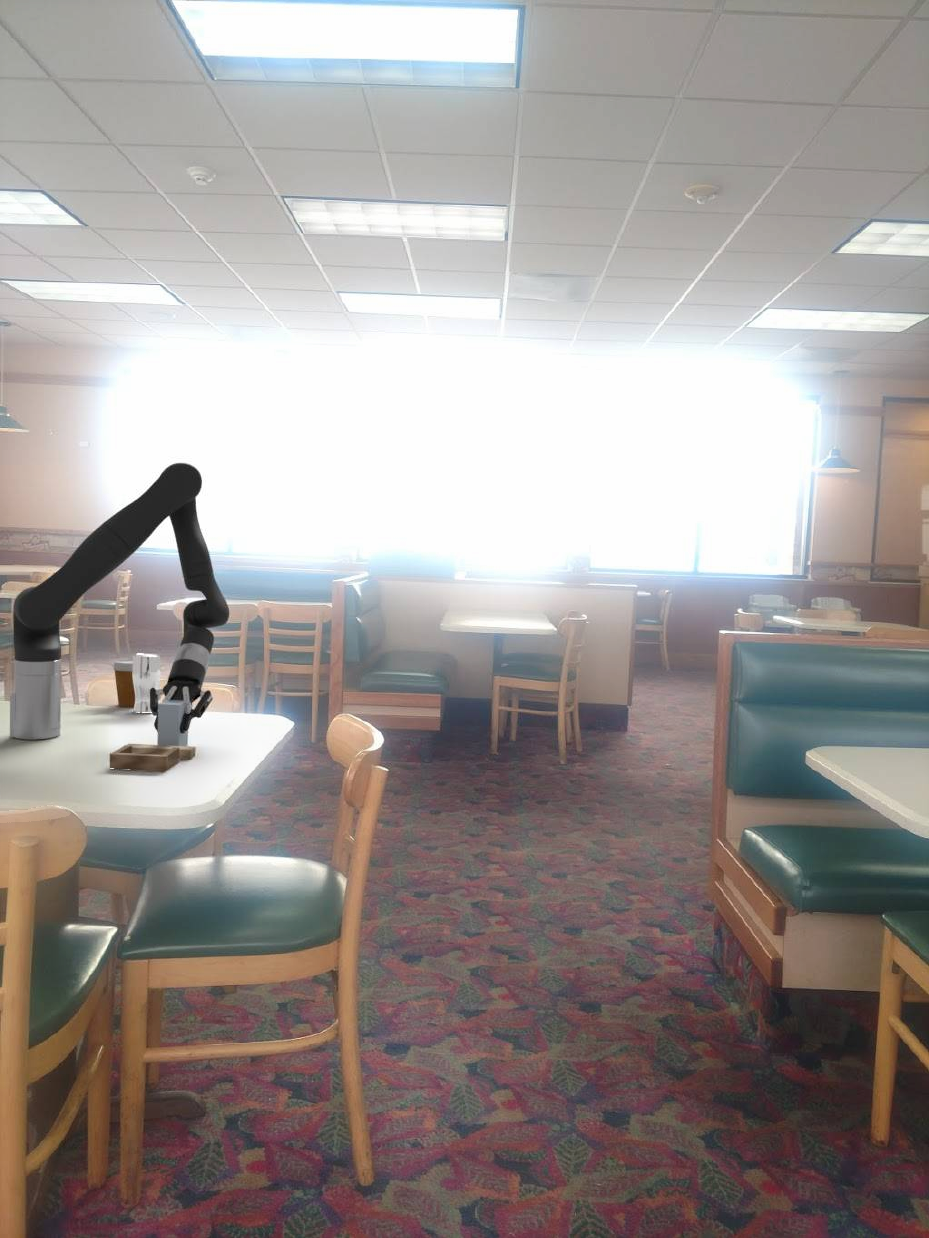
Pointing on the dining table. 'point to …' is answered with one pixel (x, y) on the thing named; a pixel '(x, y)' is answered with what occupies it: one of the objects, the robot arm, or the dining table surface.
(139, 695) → the beer glass
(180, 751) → the dock step
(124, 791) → the dining table surface
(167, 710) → the pale grey upright block
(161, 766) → the tray
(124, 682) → the disposable coffee cup
